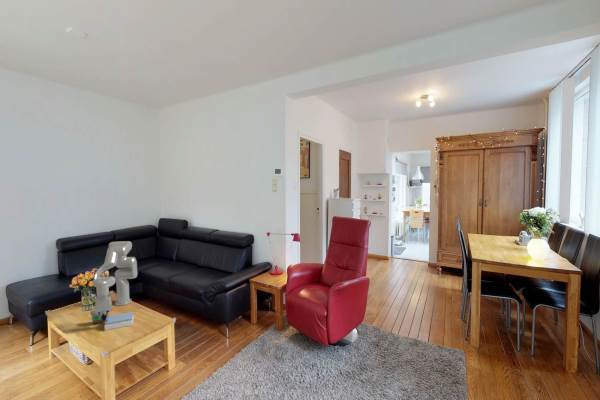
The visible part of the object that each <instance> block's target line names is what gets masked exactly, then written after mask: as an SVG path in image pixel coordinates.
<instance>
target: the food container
mask: <svg viewBox="0 0 600 400" xmlns="http://www.w3.org/2000/svg"><path fill="white" fill-rule="evenodd" d="M103 313H105V311H103ZM107 315H109V312H108V313H107V314H106V316H107ZM90 316H91V321H92V324H93V325H95V326H97V325H103V324H105V322H106V319H105V320H103V321H102V319H101V315H100V314H95V310H92V309H91V311H90Z"/></svg>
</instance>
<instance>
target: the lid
mask: <svg viewBox="0 0 600 400" xmlns="http://www.w3.org/2000/svg"><path fill="white" fill-rule="evenodd" d="M134 313H135V312H134V311H130V312H126V313H125V312H124V313H120V314H115V315H114V314H113V315H110V314H108V315H107V318H106V322H104V326H105V325H106V324H111V323H116V322H121V321H126V320H131V319H132V318H133V319H134Z"/></svg>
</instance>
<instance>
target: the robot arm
mask: <svg viewBox="0 0 600 400" xmlns="http://www.w3.org/2000/svg"><path fill="white" fill-rule="evenodd" d="M132 247H133V244H132V242H131V241H129V240H128V241H127V240H126V241H124V240H123V241H121V240H120V241H111V242H110V243H108V248H107V250H106V254H105V255H106V256H105V259H104V263H103V264H102V265H101V266H100V267H98V269H97V270H96V272H95V274H94V276H93V281H92V285H93V287H95V288H96V299H95V303H94V311H95V314H100V315H101V319H102V321H103V320H105V319H106V318H107V316H106V314H107V313H108V314H109V312H112V311H113V308H112V307H113V304H112V298H111V296H112V293H110V291H109V289H110V287H112V286H114V285H116V301H115V302H114V303H115V306H126V305H128V304H130V303H131V302H132V298H130V283H129V281H128V280H130V279H131V280H132V279H136V278H137V277H138V261H137V259H136V257H135V256H127V255H128V254H129V253H130V252H131V250H132V249H133V248H132ZM114 267H116V268H118V269H117V270H116V271H115V272H114V276H101V275H102V274H103V273H105V272H106V271H108V270H110V269H112V268H114ZM103 311H105V313H103Z"/></svg>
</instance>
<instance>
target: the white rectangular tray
mask: <svg viewBox="0 0 600 400" xmlns="http://www.w3.org/2000/svg"><path fill="white" fill-rule="evenodd" d="M133 322H134V317H133V318H132V319H131V320H126V321H121V322H116V323H111V324H106V325H105V324H104V332H105V331H110V330H117V329H121V328H126V327H132V326H133Z"/></svg>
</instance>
